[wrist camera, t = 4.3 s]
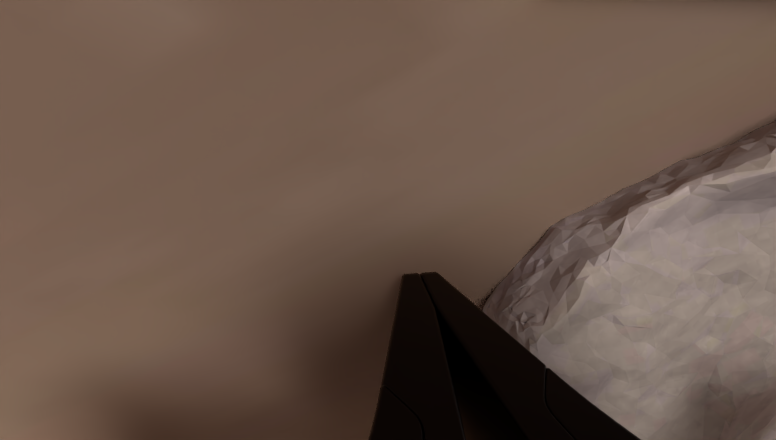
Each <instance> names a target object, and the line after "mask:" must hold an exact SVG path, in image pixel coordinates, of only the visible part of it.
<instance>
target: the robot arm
mask: <svg viewBox="0 0 776 440" xmlns="http://www.w3.org/2000/svg"><path fill="white" fill-rule="evenodd" d="M368 440H641V439H640V438H638V437H637V436H636V435H634V434H633V433H631V432H630V431H629V430H627V429H626V428H625V427H623V426H622V425H621V424H619V423H618V422H616V421H615V420H614V419H612V418H611V417H610V416H608V415H607V414H606V413H605V412H603V411H602V410H601V409H599V408H598V407H597V406H595V405H594V404H593V403H591V402H590V401H589V400H587V399H586V398H585V397H584V396H582V395H581V394H580V393H579V392H578V391H576V390H575V389H574V388H573V387H571V386H570V385H569V384H568V383H567V382H565V381H564V380H563V379H562V378H561V377H559V376H558V375H557V374H556V373H555V372H554V371H552V370H551V369H550V368H546V365H545V364H544V363H543V362H542V361H540V360H539V359H538V358H537V357H536V356H535V355H533V354H532V353H531V352H530V351H529V350H527V349H526V348H525V347H524V346H523V345H522V344H520V343H519V342H518V341H517V340H516V339H515V338H513V337H512V336H511V335H510V334H509V333H507V332H506V331H505V330H504V329H503V328H502V327H500V326H499V325H498V324H497V323H496V322H495V321H493V320H492V319H491V318H490V317H489V316H488V315H486V314H485V313H484V312H483V311H482V310H480V309H479V308H478V307H477V306H476V305H475V304H473V303H472V302H471V301H470V300H469V299H468V298H466V297H465V296H464V295H463V294H462V293H460V292H459V291H458V290H457V289H456V288H455V287H453V286H452V285H451V284H450V283H449V282H448V281H446V280H445V279H444V278H443V277H442V276H441V275H439V274H438V273H436V272H425V273H421V274H418V273H411V274H404V275H403V276H402V281H401V286H400V291H399V296H398V302H397V307H396V312H395V317H394V322H393V327H392V332H391V337H390V343H389V348H388V353H387V358H386V363H385V368H384V373H383V379H382V384H381V388H380V393H379V398H378V403H377V408H376V412H375V416H374V421H373V425H372V429H371V433H370V436H369V439H368Z"/></svg>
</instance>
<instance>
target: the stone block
mask: <svg viewBox="0 0 776 440" xmlns="http://www.w3.org/2000/svg"><path fill="white" fill-rule="evenodd" d="M483 312H484V313H485V314H486V315H488V316H489V317H490V318H491V319H492V320H493V321H495V322H496V323H497V324H498V325H499V326H500V327H502V328H503V329H504V330H505V331H506V332H507V333H509V334H510V335H511V336H512V337H513V338H515V339H516V340H517V341H518V342H519V343H520V344H522V345H523V346H524V347H525V348H526V349H527V350H529V351H530V352H531V353H532V354H533V355H535V356H536V357H537V358H538V359H539V360H540V361H542V362H543V363H544V364H545V365H546V368H550V369H551V370H552V371H554V372H555V373H556V374H557V375H558V376H559V377H561V378H562V379H563V380H564V381H565V382H567V383H568V384H569V385H570V386H571V387H573V388H574V389H575V390H576V391H578V392H579V393H580V394H581V395H582V396H584V397H585V398H586V399H587V400H589V401H590V402H591V403H593V404H594V405H595V406H597V407H598V408H599V409H601V410H602V411H603V412H605V413H606V414H607V415H608V416H610V417H611V418H612V419H614V420H615V421H616V422H618V423H619V424H621V425H622V426H623V427H625V428H626V429H627V430H629V431H630V432H631V433H633V434H634V435H636V436H637V437H638V438H640V439H641V440H776V121H774V122H773V123H771V124H769V125H766V126H763V127H760V128H758V129H756V130H754V131H753V132H751V133H749V134H748V135H746V136H744V137H743V138H742V139H740V140H739V141H738V142H736V143H733V144H731V145H728V146H725V147H721V148H718V149H716V150H714V151H710V152H708V153H706V154H704V155H702V156H699V157H697V158H693V159H687V160H681V161H679V162H677V163H675V164H673V165H671V166H669V167H668V168H666V169H664V170H662V171H660V172H659V173H657V174H656V175H654V176H652V177H650V178H648V179H646V180H644V181H641V182H639V183H636V184H634V185H632V186H629V187H627V188H624V189H622V190H620V191H619V192H617V193H615V194H614V195H612V196H610V197H608V198H606V199H605V200H603V201H601V202H599V203H598V204H596V205H594V206H591V207H589V208H587V209H585V210H583V211H580V212H578V213H575V214H572V215H570V216H567V217H565V218H564V219H562V220H561V221H559V222H557V223H556V224H554V225H552V226H551V227H550V228H549V229H548V230H547V232H546V233H545V235H544V236H543V237H542V239H541V240H540V241H539V242H538V243H537V244H536V245H535V246H534V247H533V248H532V250H531V251H530V252H529V253H527V254H526V255H525V256H524V257H523V258H522V260H521V261H520V262H518V264H517V265H516V266H515V267H514V268H513V269H512V271H511V272H510V273H509V274H508V276H507V277H506V278H505V279H504V280H503V281H502V282H501V283H500V284H499V285H498V286H497V287H496V288H495V290H494V291H493V293H492V294H491V295H490V297H489V298H488V300H487V302H486V303H485V305H484V308H483Z"/></svg>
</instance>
